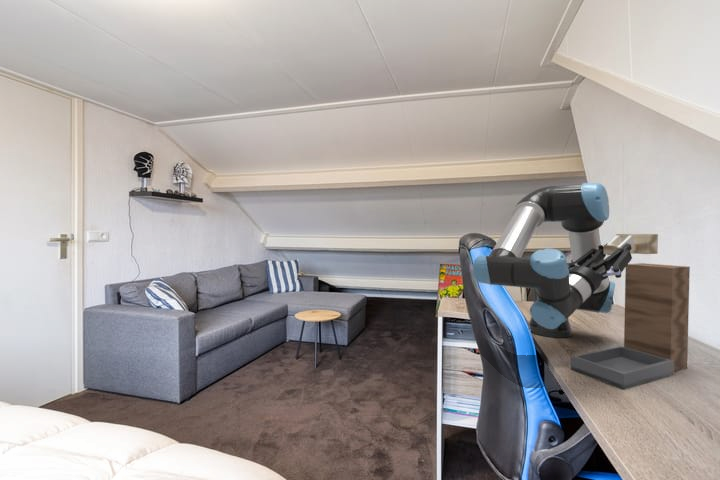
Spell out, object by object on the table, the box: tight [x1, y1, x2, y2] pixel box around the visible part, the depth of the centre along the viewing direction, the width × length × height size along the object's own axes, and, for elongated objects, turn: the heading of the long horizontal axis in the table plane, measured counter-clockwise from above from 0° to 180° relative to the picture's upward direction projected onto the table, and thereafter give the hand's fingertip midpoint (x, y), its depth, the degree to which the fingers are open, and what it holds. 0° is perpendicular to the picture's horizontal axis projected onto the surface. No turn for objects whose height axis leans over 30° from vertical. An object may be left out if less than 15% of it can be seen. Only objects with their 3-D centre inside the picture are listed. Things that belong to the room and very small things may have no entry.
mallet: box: [603, 233, 659, 255], centre depth 98 cm, size 16×8×6 cm, turn 114°
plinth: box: [623, 262, 691, 373], centre depth 105 cm, size 9×12×30 cm
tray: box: [570, 345, 675, 391], centre depth 99 cm, size 23×14×4 cm, turn 114°
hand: (625, 239), depth 98 cm, fingers closed on mallet, 2 cm apart
